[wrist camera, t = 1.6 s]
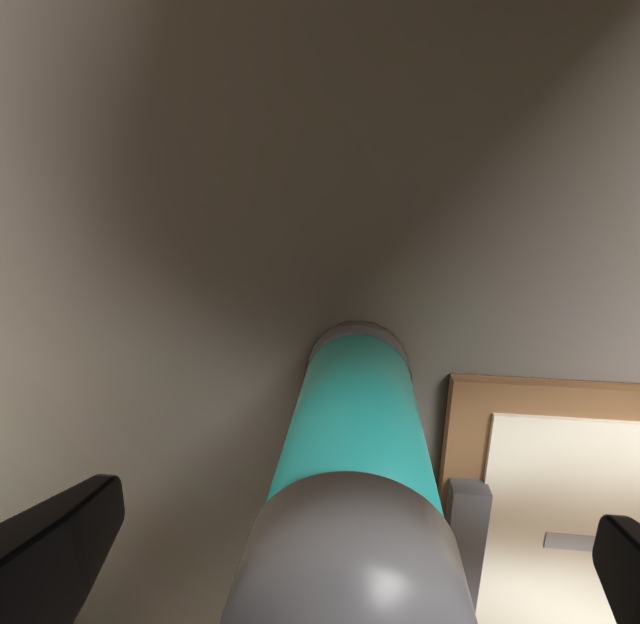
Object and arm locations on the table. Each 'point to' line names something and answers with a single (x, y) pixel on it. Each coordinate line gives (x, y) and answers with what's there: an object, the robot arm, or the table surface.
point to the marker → (352, 502)
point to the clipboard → (537, 490)
